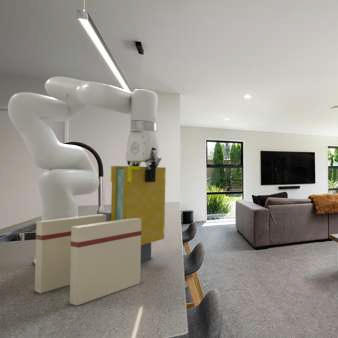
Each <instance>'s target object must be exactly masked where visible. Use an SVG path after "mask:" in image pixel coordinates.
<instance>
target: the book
mask: <svg viewBox="0 0 338 338" xmlns="http://www.w3.org/2000/svg"><path fill="white" fill-rule="evenodd" d="M166 169H167V168H166V167H163V166H157V170H156V179H155V182H145V170H148V169H147V167H146V166H141V165H140V166H129V165H111V166H110V182H111V197H110V199H111V200H110V202H111V203H110V205H111V206H110V210H111V221H116V220H123V219H130V218H140V219H141V245H144V244H147V243H151V244H152V243H154V242H159V241H162V240H164V239H165V224H166V223H165V220H166V219H165V217H166V178H167V177H166V175H167V173H166V171H167V170H166Z"/></svg>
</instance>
